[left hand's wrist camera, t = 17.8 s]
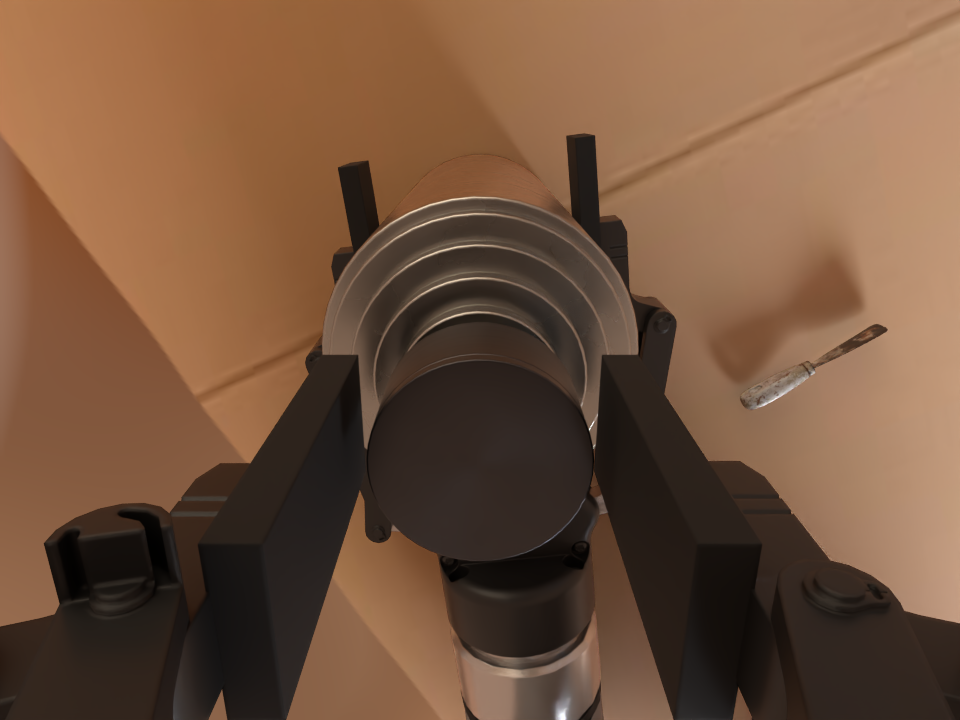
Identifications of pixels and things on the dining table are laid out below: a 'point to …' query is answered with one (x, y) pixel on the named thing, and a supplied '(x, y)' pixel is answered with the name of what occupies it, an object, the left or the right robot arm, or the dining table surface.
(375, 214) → the right robot arm
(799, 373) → the putty knife
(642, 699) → the dining table surface
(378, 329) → the bottle
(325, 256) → the dining table surface
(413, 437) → the cap
